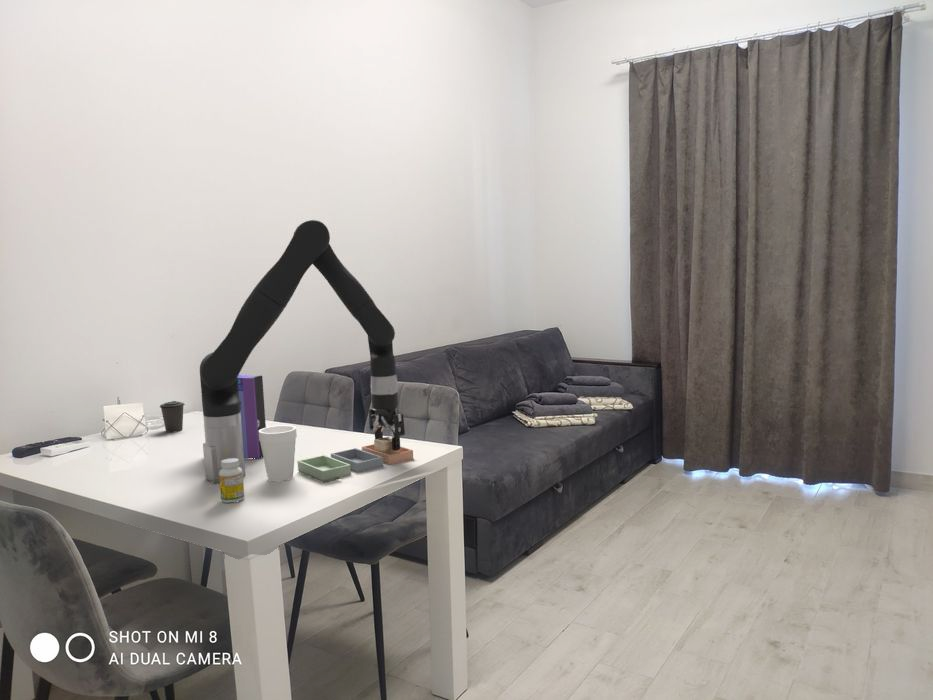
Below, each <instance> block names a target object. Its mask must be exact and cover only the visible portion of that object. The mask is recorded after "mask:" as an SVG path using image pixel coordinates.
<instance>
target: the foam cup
mask: <svg viewBox="0 0 933 700" xmlns="http://www.w3.org/2000/svg"><path fill="white" fill-rule="evenodd" d="M258 432H259V441H260V443H261V448H262V453H263V458H262V459H263V462H264V468H265V470H266V471H265V472H266V477H267V481H269V480H270V481H269V482H272V481H281V482H285V481H284V480H287V481H289V480H288V479H290V480H291V478H292V477H293V478H294V469H295V455H296V444H297V443H296V442H297V441H296V440H297V438H298V437H297V436H298V435H297V434H298V433H297V426H294V425H282V424H281V425H272V426H268V427H267V426H266V428H263V429H260V430H259V431H258ZM293 478H292V479H293Z"/></svg>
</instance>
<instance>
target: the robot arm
mask: <svg viewBox="0 0 933 700" xmlns="http://www.w3.org/2000/svg"><path fill="white" fill-rule="evenodd" d="M330 240H331V237H330V232H329V229H328V227H327V226H326V224H325V223H324V222H322V221H321V220H317V219H307V220H305V221H302V222H301V223H300V224H299V225H297V227H296V229H295V230H294V232H293V235H292V237H291V239H290V241H289V243H288V245H287V247H286V248H285V250H284V252H283V253H282V255H281V256H280V258H279V259H278V260H277V261H276V262H275V263H274V265H273V266H272V267H271V268H270V269H269V270H268V271H267V272H266V273H265V274H264V276H263V277H262V278H261V279H260V280H259V281H258V283H257V284H256V285H255V287H254V288H253V289H252V291H251V293H249V295H248V297H246V300H245V301H244V302H243V304H242V306H241V308H240V309H239V311H238V313H237V315H236V318H235V320H234V322H233V324H232V326H231V328H230V330H229V332H228V333H227V335H226V336H225V337H224V339H223V340H222V342H221V343H220V344H219V345H218V346H217V348H215V350H214V351H213V352H210V353H208V354H207V355H206V356H204V357H203V359H202V360H201V362H200V365H199V377H200V381H199V382H200V390H201V391H200V393H201V404H202V405H201V406H202V415H203V426H204V427H203V428H204V439H205V440H204V443H203V444H202V449H203V450H202V451H203V464H204V476H205V479H206V480H207V479H208V480H207V481H209V482H211V483H212V482H213V483H212V484H217V483H220V481H219V472H220V470H221V469H223V468H222V466H221V461H222V460H225V459H230V458H236V459H239V466H238V467H240V468H241V469H242V471H243V478H244V477H245V476H246V472H245V471H246V468H245V459H244V452H243V439H242V425H241V412H240V400H239V392H238V378H237V377H238V375H240V373H241V371H242V369H243V367H244V365H245V363H246V362H247V360H248V358H249V357H250V355H251V354H252V353H253V350H254V349H255V347H256V346H257V345H258V344H259V343H260V341H262V339H263V338H264V337H265V335H266V334H267V333H268V332H269V330H270V329H271V328H272V326H274V324H275V323H276V321H278V318H280V317H281V314H282V313H283V312H284V310H285V309H286V307H287V306H288V304H289V302H290V301H291V298H292V297H293V295H294V294H295V292H296V290H297V288H298V286H299V284H300V282H301V280H302V278H303V277H304V276H305V274H306V272H307V271H308V269H310V267H311V266H312V265H313V266H314V268H315V269H316V270H317V271H318V272H319V274H321V275H322V277H323V278H324V280H326V281H327V283H328V284H329V286H331V288H332V290H333V291H334V293H335V294H336V296H338V298H339V300H340V301H341V303H342V304H343V306H344V307H345V308H346V309H347V311H348V312H349V313H350V315H351V316H352V317H353V318H354V319H355V320H356V321H357V322H358V324H359V325H360V326H361V328H362V329H363V331H364V332H365V333H366V335H367V342H368V350H369V355H370V358H369V359H370V360H369V361H370V363H369V364H370V365H369V367H370V397H371V408H370V409H368V420H369V421H368V422H369V429H370V430H372V431H373V433H374V440H375V439H379V438H384V434H383V430H384V428H386V430H387V432H389V433H390V437H392V450H393V451H397V450H400V446H401V436H402V437H403V436H405V434H406V430H405V422H404V421H405V419H404V414H403V413H397V411H396V409H397V408H398V407H399V405H400V403H399V386H398V385H399V384H398V383H399V382H398V377H397V369H396V366H397V365H396V358H395V355H394V350H393V341H394V340H395V337H396V332H395V327H394V326H393V325H392V324H391V321H389V320H388V318H387V317H386V316H385V315H384V314H383V312H382V311H381V310H380V309H379V307H377V305H376V304H375V302H374V300H373V299H372V297H371V296H370V295H369V293H368V291H366V289H365V287H363V285H362V283H360V281H359V280H358V279H357V278H356V277H355V276H354V275H353V274H352V273H351V272H350V271H349V270H348V268H347V267H345V265H344V264H343V263H342V262H341V260H340V259H339V258H338V257H337V255H336V253H335V252H334V250H333V247H332V246H331V244H330Z"/></svg>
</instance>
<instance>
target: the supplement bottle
mask: <svg viewBox="0 0 933 700" xmlns="http://www.w3.org/2000/svg"><path fill="white" fill-rule="evenodd" d="M221 466H222V468H223V469H221V470H220V472H219V481H220V482H219V492H220V493H219V495H220V501H221V502H222V503H224V502H227V503H226V504H230V503H229V502H234V503H237V501H239V502H242V501H243V500H244V499H245V487H244V477H243V471H242V469H241V468H240V467H238V466H239V459H236V458H230V459H225V460H222V461H221Z"/></svg>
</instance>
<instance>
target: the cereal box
mask: <svg viewBox="0 0 933 700" xmlns="http://www.w3.org/2000/svg"><path fill="white" fill-rule="evenodd" d="M237 378H238V392H239V400H240V412H241V425H242V439H243V452H244V458H253V459H252V460H257V459H259V458H261V457H263V453H262V448H261V443H260V441H259V432H258V431H259V430H260V429H263V428H266V427H267V425H266V410H265V397H264V396H265V395H264V382H263V381H264V380H263V379H264V378H263V375H247V374H245V375H241V374H239V375H238V377H237ZM254 458H255V459H254ZM261 459H262V458H261ZM259 460H260V459H259Z"/></svg>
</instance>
